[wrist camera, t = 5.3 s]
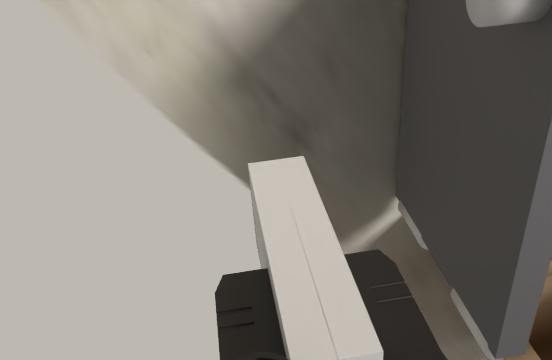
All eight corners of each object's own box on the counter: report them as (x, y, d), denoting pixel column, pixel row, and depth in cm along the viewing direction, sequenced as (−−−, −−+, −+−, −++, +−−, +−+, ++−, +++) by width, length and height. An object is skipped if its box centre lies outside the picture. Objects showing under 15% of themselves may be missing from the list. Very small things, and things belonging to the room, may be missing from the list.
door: (367, 212, 30) (452, 381, 20) (378, -112, 21) (533, -85, 12) (416, 205, 30) (523, 369, 21) (446, -118, 22) (654, -97, 12)
